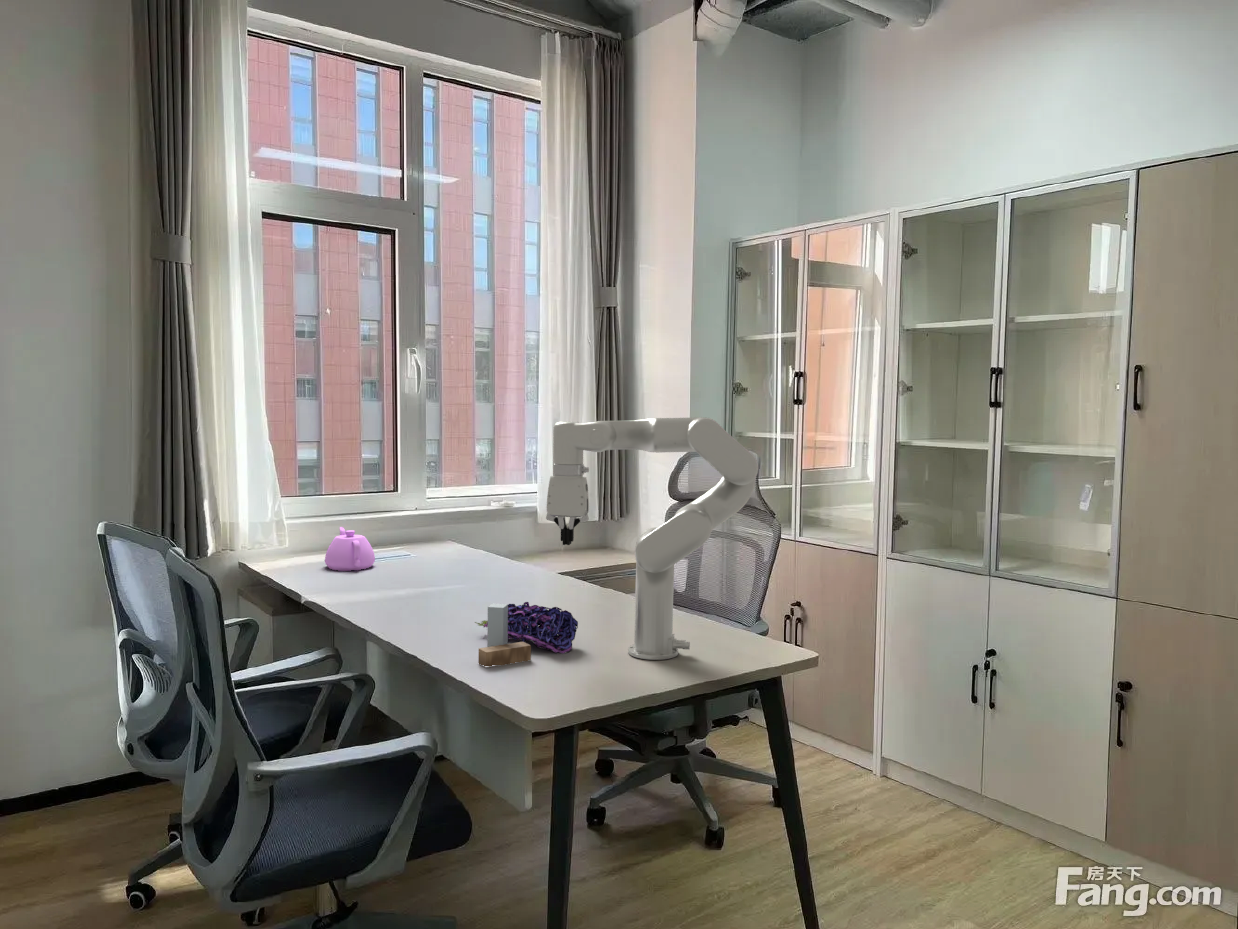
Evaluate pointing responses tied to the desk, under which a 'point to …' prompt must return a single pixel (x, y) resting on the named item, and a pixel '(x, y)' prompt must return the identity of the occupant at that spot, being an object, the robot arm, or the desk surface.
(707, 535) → the robot arm
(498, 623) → the grey block
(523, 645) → the walnut block
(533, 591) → the desk surface
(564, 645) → the decorative ornament
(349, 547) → the teapot
